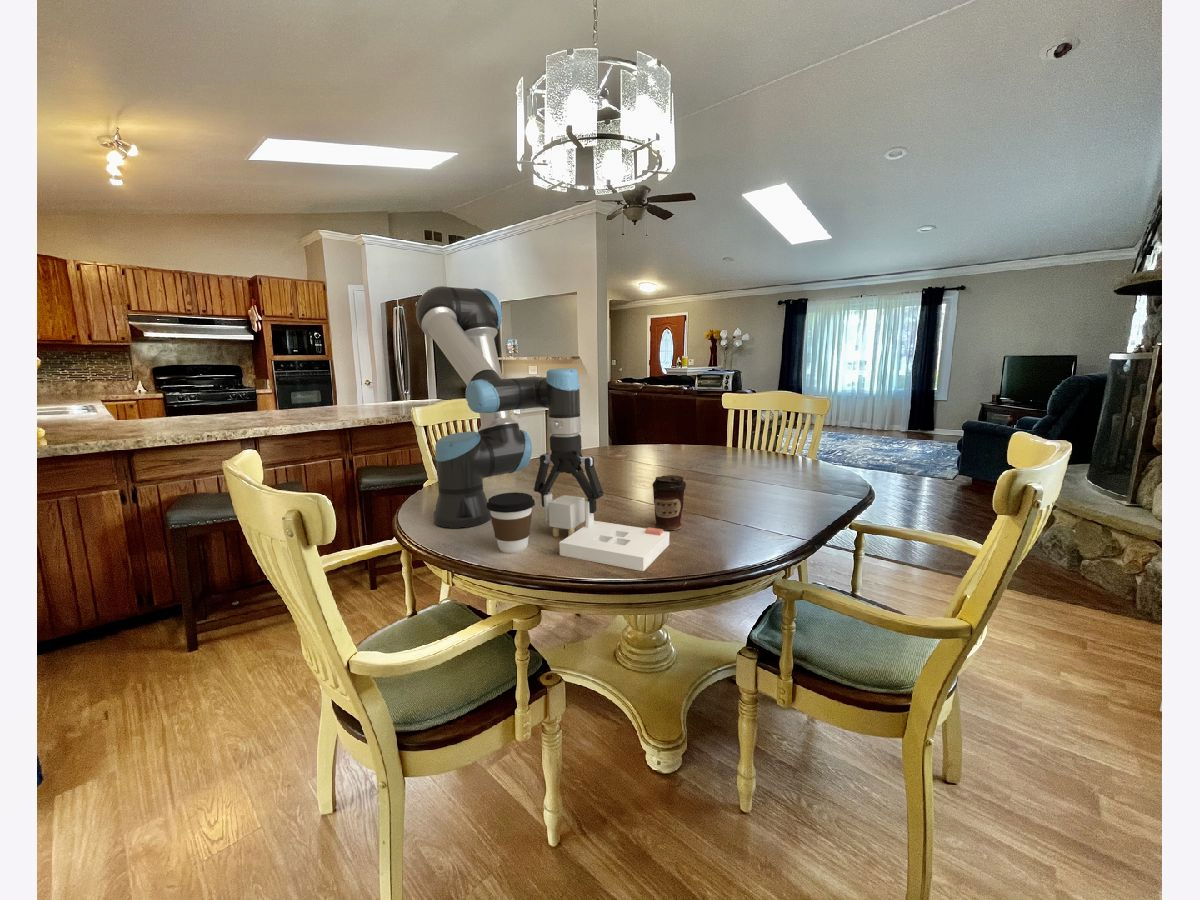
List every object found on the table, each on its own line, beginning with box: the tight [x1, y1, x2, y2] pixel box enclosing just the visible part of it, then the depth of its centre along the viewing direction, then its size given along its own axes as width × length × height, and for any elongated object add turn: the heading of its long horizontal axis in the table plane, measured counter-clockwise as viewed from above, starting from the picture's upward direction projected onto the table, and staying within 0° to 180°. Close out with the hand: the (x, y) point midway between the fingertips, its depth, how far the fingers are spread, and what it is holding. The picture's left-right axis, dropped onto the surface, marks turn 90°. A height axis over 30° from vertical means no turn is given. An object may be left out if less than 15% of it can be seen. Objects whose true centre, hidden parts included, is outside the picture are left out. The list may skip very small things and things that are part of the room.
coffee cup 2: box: [652, 474, 687, 531], centre depth 126 cm, size 9×8×13 cm
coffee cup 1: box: [487, 492, 536, 554], centre depth 114 cm, size 11×11×12 cm
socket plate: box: [558, 520, 670, 572], centre depth 113 cm, size 16×20×4 cm
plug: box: [548, 494, 586, 538], centre depth 123 cm, size 7×6×9 cm
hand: (569, 522), depth 123 cm, fingers open, 11 cm apart
